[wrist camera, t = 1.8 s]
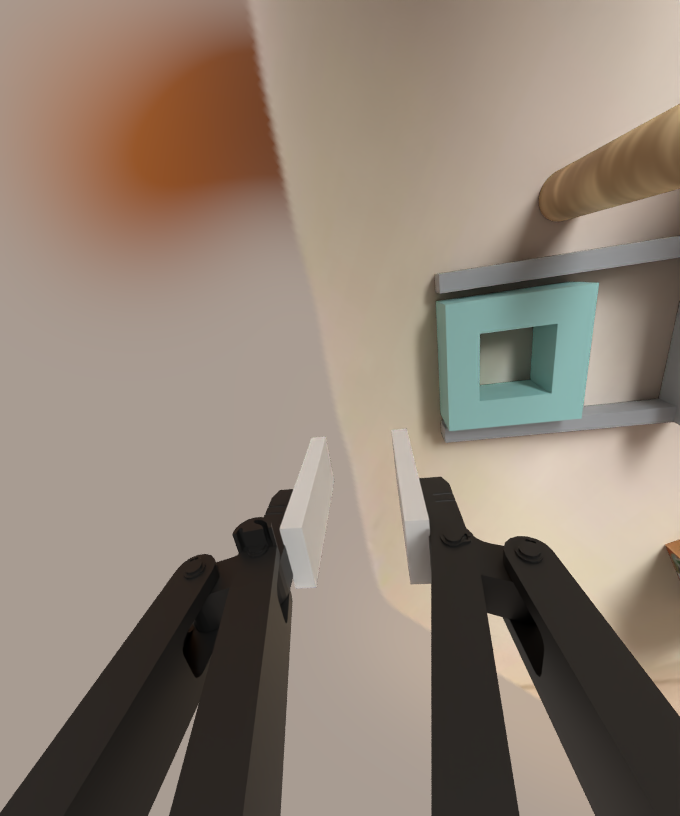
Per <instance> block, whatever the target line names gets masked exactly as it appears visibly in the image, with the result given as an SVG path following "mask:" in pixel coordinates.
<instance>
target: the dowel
mask: <svg viewBox="0 0 680 816" xmlns="http://www.w3.org/2000/svg"><path fill="white" fill-rule="evenodd" d="M677 189H680V104H678V105H677V106H675V107H673V108H671V109H669V110H668V111H666V112H664V113H662V114H660V115H658V116H657V117H655V118H653V119H651V120H649V121H648V122H646V123H644V124H642V125H640V126H638V127H637V128H635V129H633V130H631V131H629V132H628V133H626V134H624V135H622V136H620V137H618V138H617V139H615V140H613V141H611V142H609V143H608V144H606V145H604V146H602V147H600V148H598V149H597V150H595V151H593V152H591V153H589V154H588V155H586V156H584V157H582V158H580V159H578V160H577V161H575V162H573V163H571V164H569V165H568V166H566V167H564V168H562V169H560V170H558V171H557V172H555V173H554V174H552V175H551V176H550V177H549V178H548V179H547V180H546V182H545V183H544V185H543V186H542V189H541V191H540V195H539V208H540V211H541V213H542V214H543V216H544V217H545V218H547V219H548V220H551V221H555V222H560V221H565V220H568V219H572V218H575V217H579V216H583V215H586V214H590V213H593V212H597V211H601V210H604V209H608V208H612V207H615V206H619V205H622V204H626V203H630V202H633V201H637V200H640V199H644V198H648V197H651V196H655V195H658V194H662V193H666V192H669V191H673V190H677Z"/></svg>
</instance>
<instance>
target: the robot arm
mask: <svg viewBox="0 0 680 816" xmlns="http://www.w3.org/2000/svg"><path fill="white" fill-rule="evenodd" d="M391 431H392V441H393V450H394V460H395V470H396V479H397V486H398V494H399V501H400V508H401V516H402V523H403V531H404V538H405V546H406V553H407V561H408V568H409V576H410V583H411V584H431V635H432V637H431V638H432V639H431V647H432V648H431V656H432V657H431V658H432V659H431V660H432V661H431V662H432V664H431V665H432V667H431V668H432V669H431V670H432V672H431V673H432V676H431V681H432V682H431V683H432V684H431V686H432V690H431V692H432V693H431V696H432V698H431V700H432V701H431V704H432V706H431V707H432V708H431V709H432V816H519V811H518V804H517V798H516V791H515V785H514V779H513V773H512V767H511V761H510V755H509V748H508V741H507V735H506V729H505V723H504V716H503V710H502V704H501V698H500V691H499V685H498V679H497V673H496V666H495V660H494V654H493V648H492V641H491V635H490V629H489V623H488V616H487V613H490V614H493V615H497V616H501V617H503V619H504V621H505V623H506V626H507V628H508V630H509V632H510V634H511V636H512V638H513V641H514V643H515V645H516V647H517V649H518V651H519V653H520V656H521V658H522V660H523V662H524V664H525V666H526V668H527V671H528V673H529V675H530V677H531V679H532V681H533V683H534V686H535V688H536V690H537V692H538V694H539V696H540V698H541V701H542V703H543V705H544V707H545V709H546V711H547V713H548V715H549V718H550V719H551V722H552V724H553V726H554V728H555V730H556V732H557V735H558V737H559V739H560V741H561V743H562V746H563V748H564V750H565V752H566V754H567V756H568V758H569V760H570V763H571V764H572V767H573V769H574V771H575V773H576V775H577V777H578V780H579V782H580V784H581V786H582V788H583V790H584V792H585V795H586V797H587V799H588V801H589V803H590V805H591V808H592V810H593V812H594V814H595V816H680V716H679V715H678V714H677V712H676V711H675V710H674V709H673V707H672V706H671V705H670V703H669V702H668V701H667V699H666V698H665V697H664V695H663V694H662V693H661V692H660V690H659V689H658V688H657V686H656V685H655V684H654V682H653V681H652V680H651V678H650V677H649V676H648V675H647V673H646V672H645V671H644V669H643V668H642V667H641V665H640V664H639V663H638V661H637V660H636V659H635V658H634V656H633V655H632V654H631V652H630V651H629V650H628V648H627V647H626V646H625V644H624V643H623V642H622V641H621V639H620V638H619V637H618V635H617V634H616V633H615V631H614V630H613V629H612V627H611V626H610V625H609V624H608V622H607V621H606V620H605V618H604V617H603V616H602V614H601V613H600V612H599V611H598V609H597V608H596V607H595V605H594V604H593V603H592V601H591V600H590V599H589V597H588V596H587V595H586V594H585V592H584V591H583V590H582V588H581V587H580V586H579V584H578V583H577V582H576V580H575V579H574V578H573V577H572V575H571V574H570V573H569V571H568V570H567V569H566V567H565V566H564V565H563V563H562V562H561V561H560V560H559V558H558V557H557V556H556V554H555V553H554V552H553V550H551V549H550V548H549V547H548V546H547V545H546V544H545V543H543V542H541V541H539V540H537V539H534V538H530V537H525V536H517V537H513V538H510V539H509V540H508V541H506V542H505V545H504V546H501V545H496V544H491V543H487V542H483V541H481V540H479V539H477V538H475V537H474V536H473V534H472V533H471V532H470V531H469V530H468V529H467V528H466V527H465V524H464V521H463V519H462V516H461V514H460V511H459V508H458V506H457V503H456V501H455V498H454V495H453V493H452V490H451V487H450V485H449V483H448V482H447V481H445V480H444V479H443V478H442V477H431V478H419V477H418V472H417V468H416V464H415V460H414V456H413V452H412V448H411V444H410V440H409V436H408V431H407V428H405V429H395V430H391ZM333 486H334V477H333V471H332V466H331V460H330V455H329V450H328V445H327V439H326V436H325V437H314V438H311V441H310V444H309V447H308V450H307V452H306V455H305V458H304V461H303V464H302V466H301V469H300V472H299V475H298V478H297V481H296V483H295V486H294V489H289V490H280V491H279V492H278V493H277V494H276V495H275V496H274V497H273V498H272V499H271V502H270V504H269V508H268V509H267V511H266V515H264V518H263V517H258V518H252V519H249V520H247V521H245V522H243V523H241V524H240V525H239V526H238V527H237V528H236V529H235V530H234V532H233V538H234V540H235V543H236V546H237V549H238V552H239V554H238V555H237V556H235V557H232V558H229V559H226V560H223V561H219V562H215V559H214V558H213V557H212V556H211V555H208V554H202V555H197V556H194V557H192V558H190V559H188V560H187V561H185V562H184V563H183V564H182V565H181V566H180V567H179V568H178V569H177V570H176V572H175V573H174V574H173V576H172V577H171V579H170V580H169V581H168V583H167V584H166V586H165V587H164V588H163V590H162V591H161V592H160V594H159V595H158V596H157V598H156V599H155V601H154V602H153V603H152V605H151V606H150V607H149V609H148V610H147V612H146V613H145V614H144V616H143V617H142V618H141V620H140V621H139V623H138V624H137V625H136V627H135V628H134V630H133V631H132V632H131V634H130V635H129V636H128V638H127V639H126V640H125V642H124V643H123V645H122V646H121V647H120V649H119V650H118V651H117V653H116V654H115V656H114V657H113V658H112V660H111V661H110V663H109V664H108V665H107V667H106V668H105V669H104V671H103V672H102V673H101V675H100V676H99V678H98V679H97V680H96V682H95V683H94V685H93V686H92V687H91V689H90V690H89V691H88V693H87V694H86V696H85V697H84V698H83V700H82V701H81V702H80V704H79V705H78V707H77V708H76V709H75V711H74V712H73V713H72V715H71V716H70V718H69V719H68V720H67V722H66V723H65V725H64V726H63V727H62V729H61V730H60V731H59V733H58V734H57V735H56V737H55V738H54V740H53V741H52V742H51V744H50V745H49V746H48V748H47V749H46V751H45V752H44V753H43V755H42V756H41V757H40V759H39V760H38V762H37V763H36V764H35V766H34V767H33V768H32V770H31V771H30V773H29V774H28V775H27V777H26V778H25V780H24V781H23V782H22V784H21V785H20V786H19V788H18V789H17V790H16V792H15V793H14V795H13V796H12V798H11V799H10V800H9V801H8V803H7V804H6V806H5V807H4V808H3V810H2V811H1V812H0V816H148V814H149V812H150V809H151V807H152V805H153V803H154V801H155V799H156V796H157V794H158V792H159V790H160V787H161V785H162V783H163V781H164V779H165V776H166V774H167V772H168V770H169V768H170V765H171V763H172V761H173V759H174V757H175V754H176V752H177V750H178V748H179V745H180V743H181V741H182V739H183V736H184V734H185V732H186V730H187V728H188V726H189V723H190V721H191V719H192V717H193V715H194V712H195V710H196V708H197V706H198V709H197V713H196V716H195V720H194V724H193V728H192V732H191V735H190V739H189V743H188V746H187V750H186V754H185V758H184V762H183V765H182V769H181V773H180V777H179V780H178V784H177V788H176V792H175V796H174V800H173V804H172V807H171V811H170V815H169V816H280V813H281V795H282V776H283V759H284V741H285V724H286V705H287V688H288V670H289V652H290V634H291V617H292V595H291V591H290V587H291V583H292V579H293V580H294V584H295V588H316V586H317V580H318V574H319V569H320V562H321V557H322V551H323V545H324V539H325V533H326V527H327V521H328V514H329V509H330V503H331V498H332V492H333ZM198 703H199V705H198Z"/></svg>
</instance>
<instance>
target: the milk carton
mask: <svg viewBox="0 0 680 816" xmlns="http://www.w3.org/2000/svg"><path fill="white" fill-rule="evenodd" d="M665 546H666V548H667V551H668V553H669V555H670V558H671V560H672V563H673V565H674V567H675V570H676V572H677V575H678V577H679V579H680V540H677V541H674V542H671V543H668V544H665Z"/></svg>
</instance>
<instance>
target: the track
mask: <svg viewBox="0 0 680 816" xmlns="http://www.w3.org/2000/svg"><path fill="white" fill-rule="evenodd" d="M673 258H680V235H679V236H673V237H667V238H660V239H654V240H648V241H642V242H635V243H629V244H623V245H616V246H610V247H604V248H597V249H591V250H585V251H578V252H572V253H566V254H559V255H553V256H547V257H540V258H534V259H528V260H522V261H515V262H509V263H503V264H496V265H490V266H484V267H477V268H471V269H465V270H458V271H452V272H446V273H439V274H435V292H436V293H440V294H441V293H447V292H454V291H460V290H467V289H474V288H480V287H487V286H494V285H500V284H507V283H514V282H520V281H527V280H534V279H540V278H547V277H554V276H560V275H567V274H573V273H580V272H587V271H593V270H600V269H607V268H613V267H620V266H627V265H633V264H640V263H647V262H653V261H660V260H667V259H673ZM666 422H675V423H677V424H679V425H680V303H679V307H678V312H677V317H676V321H675V326H674V330H673V335H672V340H671V344H670V349H669V353H668V358H667V363H666V367H665V372H664V376H663V381H662V386H661V390H660V395H659V399H650V400H640V401H630V402H620V403H610V404H600V405H590V406H583V411H582V419H571V420H561V421H551V422H540V423H530V424H519V425H509V426H499V427H488V428H478V429H467V430H457V431H449V429H448V427H447V425H446V424H445V422H444V420H441V434H442V436H443V438H444V441H445V443H448V442H459V441H470V440H481V439H491V438H502V437H513V436H524V435H535V434H546V433H557V432H568V431H579V430H590V429H601V428H611V427H622V426H633V425H644V424H655V423H666Z"/></svg>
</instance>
